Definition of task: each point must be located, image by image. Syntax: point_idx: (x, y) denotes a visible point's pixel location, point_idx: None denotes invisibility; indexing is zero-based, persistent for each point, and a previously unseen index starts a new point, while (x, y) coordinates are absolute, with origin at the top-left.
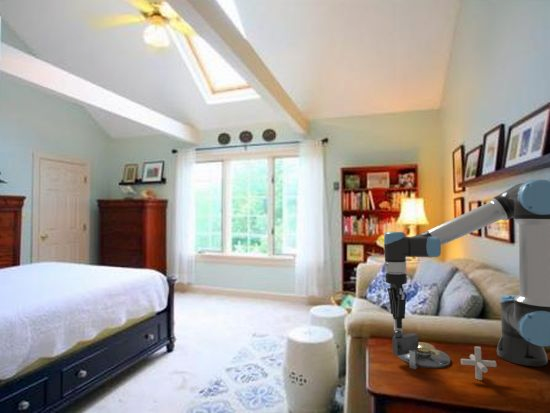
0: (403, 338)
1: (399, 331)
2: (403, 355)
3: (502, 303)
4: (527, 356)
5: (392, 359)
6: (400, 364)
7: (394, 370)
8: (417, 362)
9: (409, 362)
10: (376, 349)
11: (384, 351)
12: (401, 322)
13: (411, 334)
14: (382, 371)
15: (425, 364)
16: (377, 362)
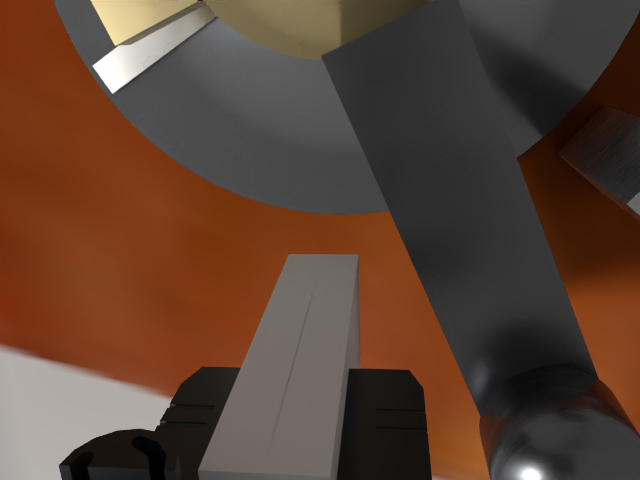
0: (581, 340)
1: (584, 470)
2: (367, 174)
3: None
4: None
5: (380, 283)
6: None
7: (633, 352)
8: (578, 89)
9: (620, 206)
10: (133, 347)
11: (178, 290)
12: (430, 471)
13: (426, 132)
14: None
15: (638, 8)
16: (443, 432)
